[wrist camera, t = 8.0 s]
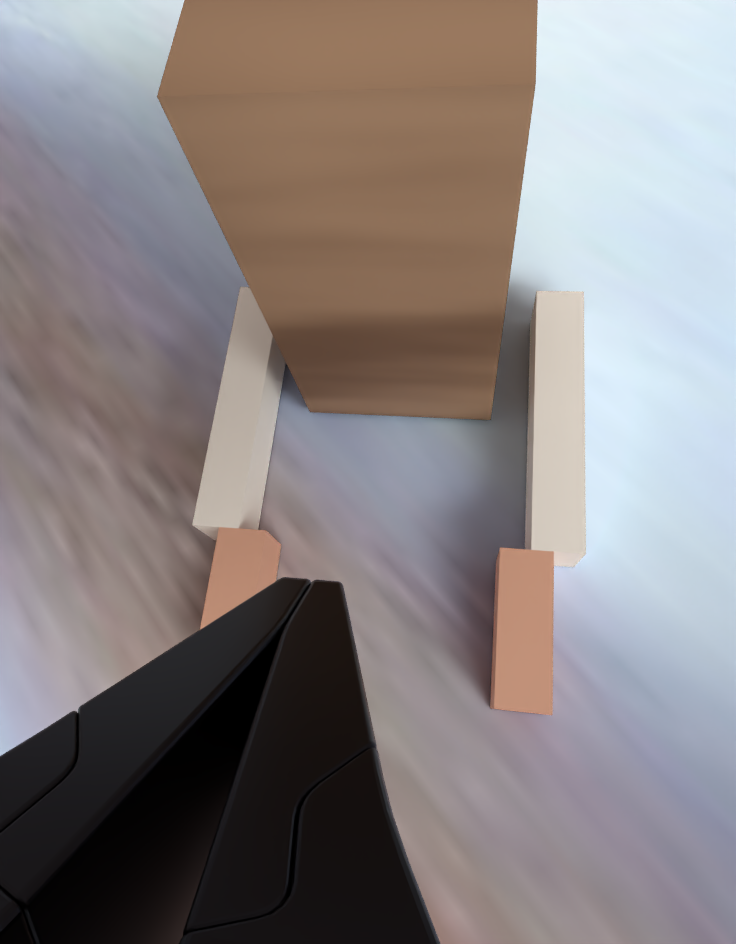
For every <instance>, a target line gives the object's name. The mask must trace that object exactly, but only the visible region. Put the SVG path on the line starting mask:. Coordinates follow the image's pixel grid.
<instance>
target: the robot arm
mask: <svg viewBox="0 0 736 944" xmlns="http://www.w3.org/2000/svg"><path fill="white" fill-rule="evenodd" d="M0 944H440V942H439V939H438V937H437V934H436V931H435V929H434V926H433V923H432V921H431V918H430V916H429V913H428V910H427V908H426V905H425V903H424V900H423V897H422V895H421V892H420V890H419V887H418V884H417V882H416V879H415V877H414V874H413V871H412V869H411V866H410V864H409V861H408V858H407V855H406V852H405V849H404V846H403V843H402V840H401V837H400V834H399V831H398V828H397V825H396V822H395V820H394V817H393V813H392V809H391V806H390V802H389V798H388V794H387V790H386V786H385V782H384V778H383V773H382V769H381V764H380V759H379V754H378V751H377V749H376V741H375V736H374V732H373V727H372V722H371V717H370V712H369V708H368V703H367V698H366V693H365V688H364V684H363V679H362V674H361V669H360V665H359V660H358V655H357V650H356V645H355V641H354V636H353V631H352V626H351V621H350V617H349V612H348V607H347V602H346V597H345V593H344V588H343V585H342V583H340V582H338V581H325V580H314V581H313V582H311V581H310V580H308V579H301V578H289V577H283V578H281V579H279V580H277V581H275V582H274V583H272V584H271V585H269V586H268V587H266V588H264V589H263V590H261V591H260V592H258V593H257V594H255V595H254V596H252V597H250V598H249V599H247V600H246V601H244V602H243V603H241V604H239V605H238V606H236V607H235V608H233V609H232V610H230V611H229V612H227V613H225V614H224V615H222V616H221V617H219V618H218V619H216V620H214V621H213V622H211V623H210V624H208V625H207V626H205V627H204V628H202V629H200V630H199V631H197V632H196V633H194V634H193V635H191V636H189V637H188V638H186V639H185V640H183V641H182V642H180V643H179V644H177V645H175V646H174V647H172V648H171V649H169V650H168V651H166V652H164V653H163V654H161V655H160V656H158V657H157V658H155V659H154V660H152V661H150V662H149V663H147V664H146V665H144V666H143V667H141V668H139V669H138V670H136V671H135V672H133V673H132V674H130V675H129V676H127V677H125V678H124V679H122V680H121V681H119V682H118V683H116V684H114V685H113V686H111V687H110V688H108V689H107V690H105V691H104V692H102V693H100V694H99V695H97V696H96V697H94V698H93V699H91V700H89V701H88V702H86V703H85V704H83V705H82V706H80V707H79V709H78V713H77V712H76V711H72V712H70V713H69V714H67V715H66V716H64V717H63V718H61V719H59V720H58V721H56V722H55V723H53V724H52V725H50V726H48V727H47V728H45V729H44V730H42V731H40V732H39V733H37V734H36V735H34V736H32V737H31V738H29V739H27V740H26V741H24V742H23V743H21V744H19V745H18V746H16V747H14V748H13V749H11V750H9V751H8V752H6V753H5V754H3V755H1V756H0Z"/></svg>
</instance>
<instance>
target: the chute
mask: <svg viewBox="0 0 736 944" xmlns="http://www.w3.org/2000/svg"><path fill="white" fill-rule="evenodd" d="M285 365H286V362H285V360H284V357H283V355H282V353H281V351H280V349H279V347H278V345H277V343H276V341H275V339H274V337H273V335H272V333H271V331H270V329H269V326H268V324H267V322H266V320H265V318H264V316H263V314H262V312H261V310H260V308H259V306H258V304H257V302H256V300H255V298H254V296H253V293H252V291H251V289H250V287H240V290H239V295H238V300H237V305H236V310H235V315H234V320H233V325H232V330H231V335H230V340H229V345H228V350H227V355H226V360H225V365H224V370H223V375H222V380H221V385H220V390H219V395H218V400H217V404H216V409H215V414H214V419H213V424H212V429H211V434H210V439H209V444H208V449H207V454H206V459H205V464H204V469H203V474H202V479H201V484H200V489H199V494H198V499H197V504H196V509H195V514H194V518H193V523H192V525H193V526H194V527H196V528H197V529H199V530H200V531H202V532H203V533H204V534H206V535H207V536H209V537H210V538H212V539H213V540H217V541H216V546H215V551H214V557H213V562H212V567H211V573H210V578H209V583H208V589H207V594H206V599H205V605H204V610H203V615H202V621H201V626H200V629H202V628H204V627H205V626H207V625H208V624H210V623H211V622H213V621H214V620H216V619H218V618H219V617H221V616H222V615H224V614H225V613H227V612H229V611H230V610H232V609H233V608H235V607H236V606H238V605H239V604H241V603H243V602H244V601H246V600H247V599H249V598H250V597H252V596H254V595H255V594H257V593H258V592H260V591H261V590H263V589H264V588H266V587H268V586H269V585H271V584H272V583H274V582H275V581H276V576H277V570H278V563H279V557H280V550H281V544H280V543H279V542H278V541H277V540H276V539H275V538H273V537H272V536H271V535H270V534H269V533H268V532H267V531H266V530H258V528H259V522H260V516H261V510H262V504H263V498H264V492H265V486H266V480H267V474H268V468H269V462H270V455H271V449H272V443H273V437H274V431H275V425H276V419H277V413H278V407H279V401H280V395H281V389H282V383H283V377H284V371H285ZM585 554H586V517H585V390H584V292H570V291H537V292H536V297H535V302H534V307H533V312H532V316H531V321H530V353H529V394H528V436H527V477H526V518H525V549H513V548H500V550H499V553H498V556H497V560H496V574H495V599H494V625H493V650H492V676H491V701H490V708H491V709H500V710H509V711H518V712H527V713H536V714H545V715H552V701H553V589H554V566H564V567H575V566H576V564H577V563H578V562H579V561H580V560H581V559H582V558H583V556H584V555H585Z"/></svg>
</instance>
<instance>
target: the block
mask: <svg viewBox="0 0 736 944" xmlns="http://www.w3.org/2000/svg"><path fill="white" fill-rule="evenodd" d="M537 3H538V0H185V1H184V4H183V8H182V11H181V15H180V18H179V22H178V25H177V29H176V32H175V36H174V39H173V43H172V46H171V50H170V53H169V57H168V60H167V64H166V67H165V71H164V74H163V78H162V81H161V85H160V88H159V92H158V95H157V97H158V99H159V102H160V104H161V106H162V108H163V110H164V112H165V114H166V116H167V118H168V120H169V122H170V124H171V126H172V128H173V130H174V132H175V135H176V137H177V139H178V141H179V143H180V145H181V147H182V149H183V151H184V153H185V155H186V157H187V159H188V161H189V163H190V166H191V168H192V170H193V172H194V174H195V176H196V178H197V180H198V182H199V184H200V186H201V188H202V190H203V192H204V194H205V196H206V199H207V201H208V203H209V205H210V207H211V209H212V211H213V213H214V215H215V217H216V219H217V221H218V223H219V225H220V227H221V229H222V232H223V234H224V236H225V238H226V240H227V242H228V244H229V246H230V248H231V250H232V252H233V254H234V256H235V258H236V260H237V263H238V265H239V267H240V269H241V271H242V273H243V275H244V277H245V279H246V281H247V283H248V285H249V287H250V289H251V291H252V293H253V296H254V298H255V300H256V302H257V304H258V306H259V308H260V310H261V312H262V314H263V316H264V318H265V320H266V322H267V324H268V326H269V329H270V331H271V333H272V335H273V337H274V339H275V341H276V343H277V345H278V347H279V349H280V351H281V353H282V355H283V357H284V360H285V362H286V364H287V366H288V368H289V370H290V372H291V374H292V376H293V378H294V380H295V382H296V384H297V386H298V388H299V390H300V393H301V395H302V397H303V399H304V401H305V403H306V405H307V407H308V409H309V411H310V412H319V413H342V414H365V415H387V416H410V417H433V418H456V419H479V420H491V413H492V406H493V398H494V391H495V383H496V376H497V368H498V361H499V353H500V346H501V338H502V331H503V323H504V316H505V308H506V301H507V293H508V286H509V278H510V271H511V263H512V256H513V248H514V241H515V233H516V226H517V219H518V211H519V204H520V196H521V189H522V181H523V174H524V166H525V159H526V151H527V144H528V136H529V129H530V121H531V114H532V106H533V99H534V91H535V84H536V44H537Z"/></svg>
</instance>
